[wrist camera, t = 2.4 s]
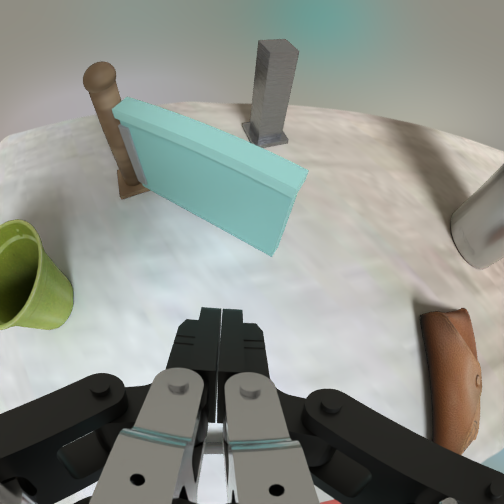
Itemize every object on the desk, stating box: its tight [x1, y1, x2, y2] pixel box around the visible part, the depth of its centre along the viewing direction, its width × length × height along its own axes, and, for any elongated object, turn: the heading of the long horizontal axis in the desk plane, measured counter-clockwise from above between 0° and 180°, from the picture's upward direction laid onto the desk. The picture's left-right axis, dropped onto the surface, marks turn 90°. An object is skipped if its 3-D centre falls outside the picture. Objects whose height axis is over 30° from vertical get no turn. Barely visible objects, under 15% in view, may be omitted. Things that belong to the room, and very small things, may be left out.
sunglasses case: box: [420, 308, 482, 455], centre depth 22 cm, size 18×7×7 cm
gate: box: [112, 97, 309, 257], centre depth 23 cm, size 16×2×11 cm, turn 60°
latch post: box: [242, 39, 299, 148], centre depth 29 cm, size 4×4×13 cm
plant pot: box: [0, 219, 73, 330], centre depth 20 cm, size 9×9×9 cm
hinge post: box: [83, 62, 150, 199], centre depth 23 cm, size 4×4×16 cm
